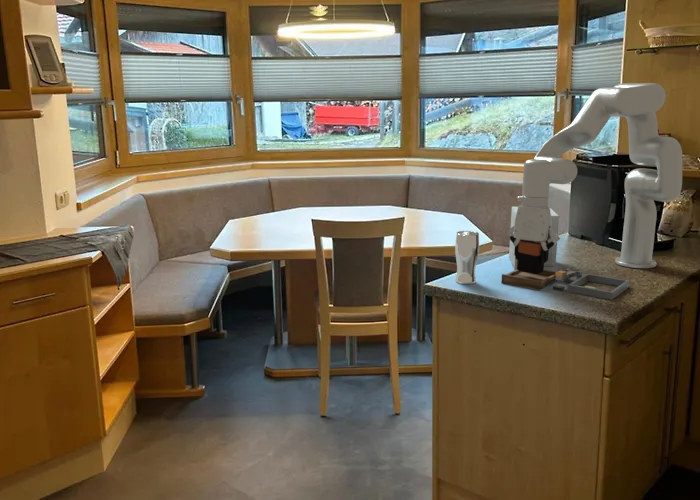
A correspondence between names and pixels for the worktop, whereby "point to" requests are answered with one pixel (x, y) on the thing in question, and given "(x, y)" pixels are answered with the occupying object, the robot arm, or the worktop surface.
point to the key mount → (568, 280)
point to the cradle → (592, 291)
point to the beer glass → (466, 256)
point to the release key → (565, 275)
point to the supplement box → (552, 251)
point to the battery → (530, 257)
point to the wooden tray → (529, 279)
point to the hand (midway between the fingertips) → (530, 260)
